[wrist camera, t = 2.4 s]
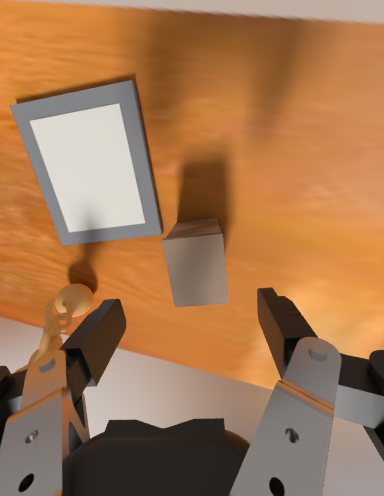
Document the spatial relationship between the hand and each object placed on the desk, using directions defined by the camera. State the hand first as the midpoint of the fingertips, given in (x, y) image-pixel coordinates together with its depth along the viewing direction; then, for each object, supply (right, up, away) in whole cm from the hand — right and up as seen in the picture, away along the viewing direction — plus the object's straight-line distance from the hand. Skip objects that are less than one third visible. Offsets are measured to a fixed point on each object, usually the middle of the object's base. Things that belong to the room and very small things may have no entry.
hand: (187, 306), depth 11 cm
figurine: (-13, -2, +15) cm, 20 cm away
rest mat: (-10, +11, +9) cm, 18 cm away
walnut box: (+1, +4, +11) cm, 12 cm away
